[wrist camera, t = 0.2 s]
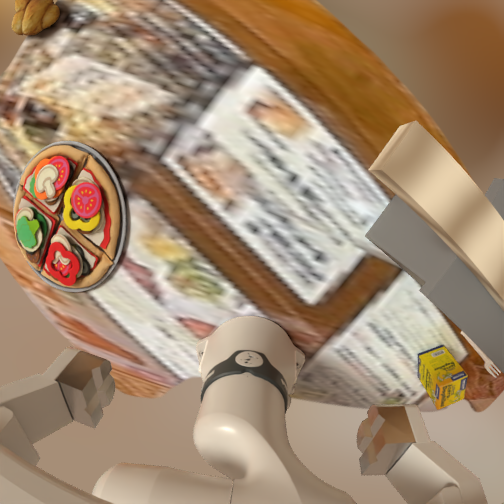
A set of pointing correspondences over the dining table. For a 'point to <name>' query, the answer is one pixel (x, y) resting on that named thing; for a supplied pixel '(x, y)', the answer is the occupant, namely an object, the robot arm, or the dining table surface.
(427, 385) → the supplement box
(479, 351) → the fork
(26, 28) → the bread roll
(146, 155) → the dining table surface
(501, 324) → the charcoal stand
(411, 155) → the birch bar
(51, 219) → the toy pizza
